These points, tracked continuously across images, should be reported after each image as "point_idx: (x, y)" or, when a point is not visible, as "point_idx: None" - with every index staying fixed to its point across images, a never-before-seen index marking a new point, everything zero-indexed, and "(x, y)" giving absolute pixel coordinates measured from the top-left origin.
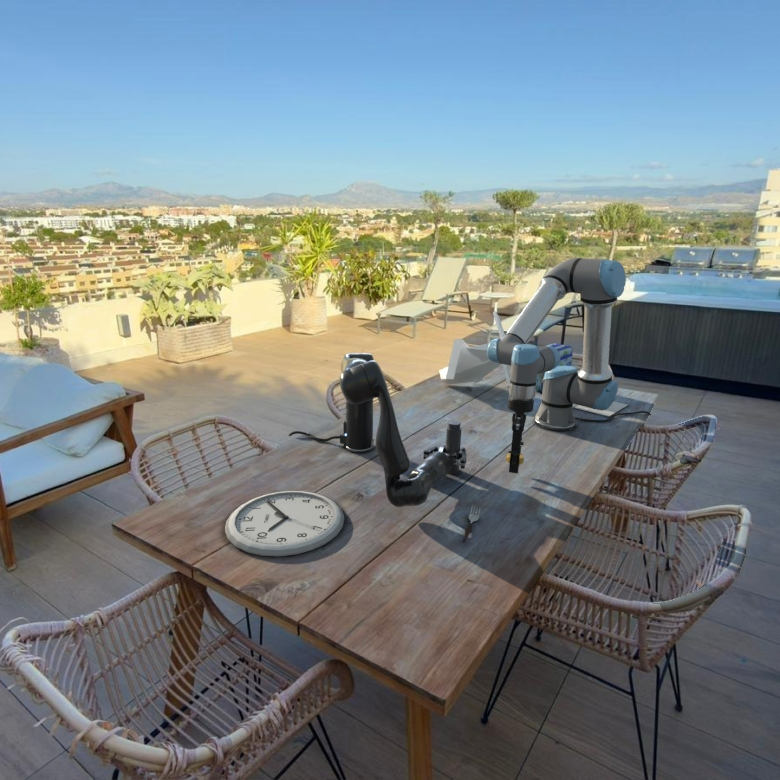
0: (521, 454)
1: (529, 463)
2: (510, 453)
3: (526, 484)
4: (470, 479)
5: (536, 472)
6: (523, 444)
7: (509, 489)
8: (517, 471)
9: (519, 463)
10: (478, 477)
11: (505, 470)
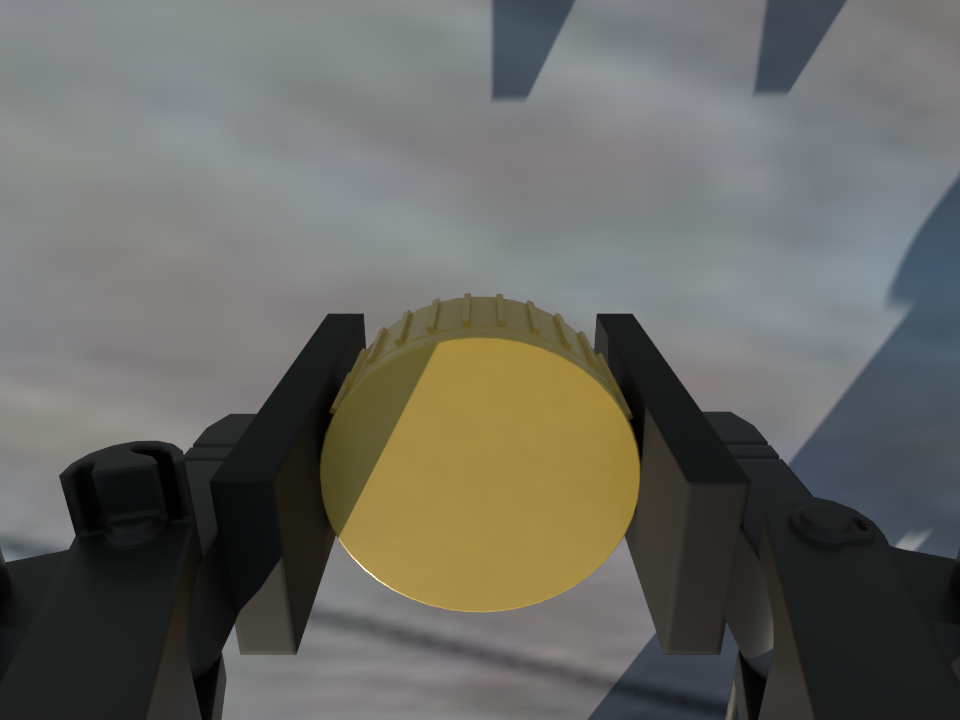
0: (396, 383)
1: (17, 158)
2: (432, 568)
3: (699, 162)
4: (704, 692)
5: (274, 38)
6: (116, 446)
7: (867, 349)
8: (639, 331)
9: (598, 356)
10: (644, 642)
11: None
